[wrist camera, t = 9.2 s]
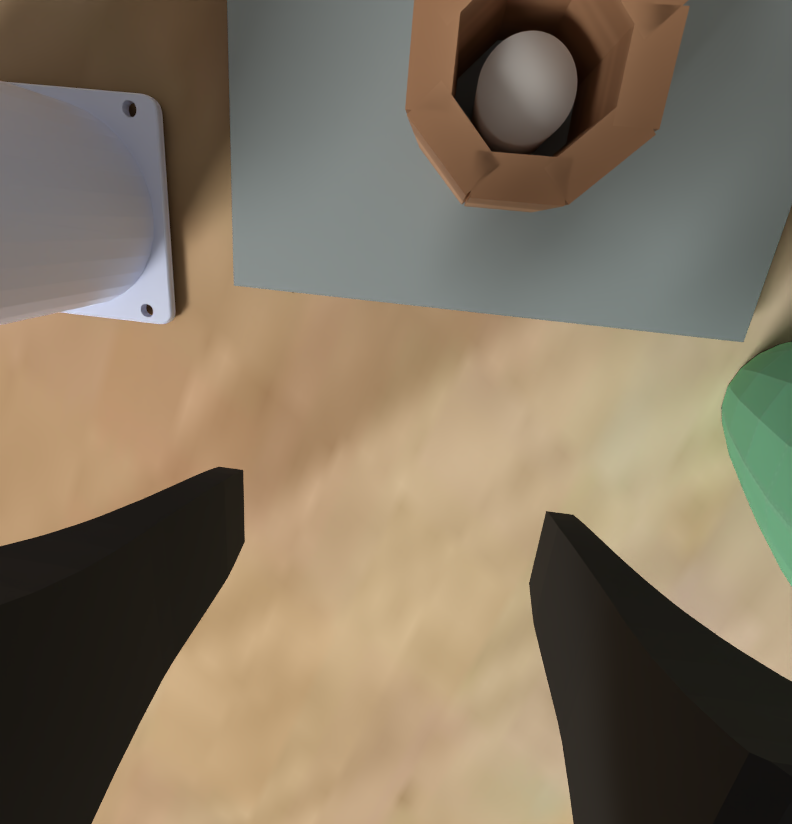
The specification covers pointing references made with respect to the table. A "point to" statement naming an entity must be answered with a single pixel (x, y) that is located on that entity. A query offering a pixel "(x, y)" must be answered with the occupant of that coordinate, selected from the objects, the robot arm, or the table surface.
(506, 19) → the tube
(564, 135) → the post board
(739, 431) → the mug
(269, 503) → the table surface
